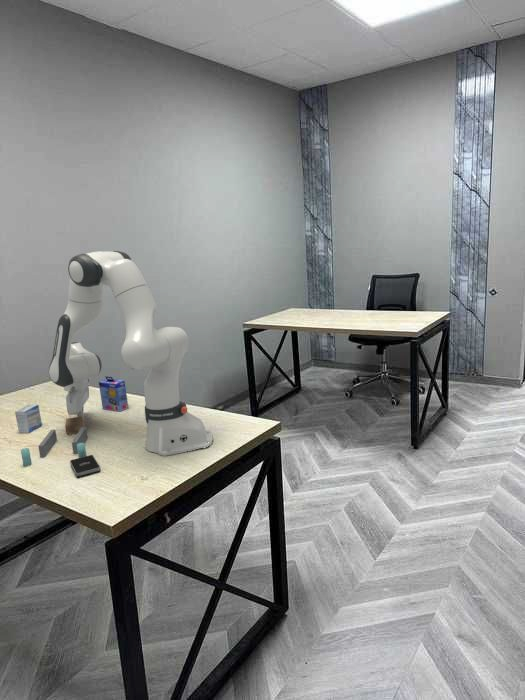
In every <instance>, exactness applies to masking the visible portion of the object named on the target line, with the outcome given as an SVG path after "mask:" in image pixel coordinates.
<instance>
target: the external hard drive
mask: <svg viewBox="0 0 525 700" xmlns="http://www.w3.org/2000/svg"><path fill="white" fill-rule="evenodd" d="M69 464H70V467H71V469H72V470H73V471H72V472H73V473H74V475H75V477H76V478H77V479H80V477H81V478H84V477H87V476H90V475H94V474H98V473H100V472H101V466H100V464H99V463H98V461H97V460H96V458H95V456H94V455H93V454H89V455H86V456H85V457H81V458H79V457H77V458H75V459H71V460H69Z"/></svg>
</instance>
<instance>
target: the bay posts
mask: <svg viewBox="0 0 525 700" xmlns="http://www.w3.org/2000/svg"><path fill="white" fill-rule="evenodd" d="M77 450H78V454H77V455H78V456H77V458H81V457H85V456H87V450H86V444H85V442H84V443H78V444H77ZM20 454H21V460H22V466H23V465H24V466H23V467H29V466H31V465H32V459H31V458H32V457H31V451H30V448H28V447H27V448H22V449H20ZM28 465H29V466H28Z"/></svg>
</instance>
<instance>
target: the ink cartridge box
mask: <svg viewBox="0 0 525 700" xmlns="http://www.w3.org/2000/svg"><path fill="white" fill-rule="evenodd" d="M104 377H105V379H102V380H100V381H98V387H99V393H100V399H101V406H102V410H105V411H112V412H119V413H120V412H122V411H124V410H126V409H129V403H128V395H127V389H126V383H125V380H124V379H114V378H113V377H112V376H104Z"/></svg>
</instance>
